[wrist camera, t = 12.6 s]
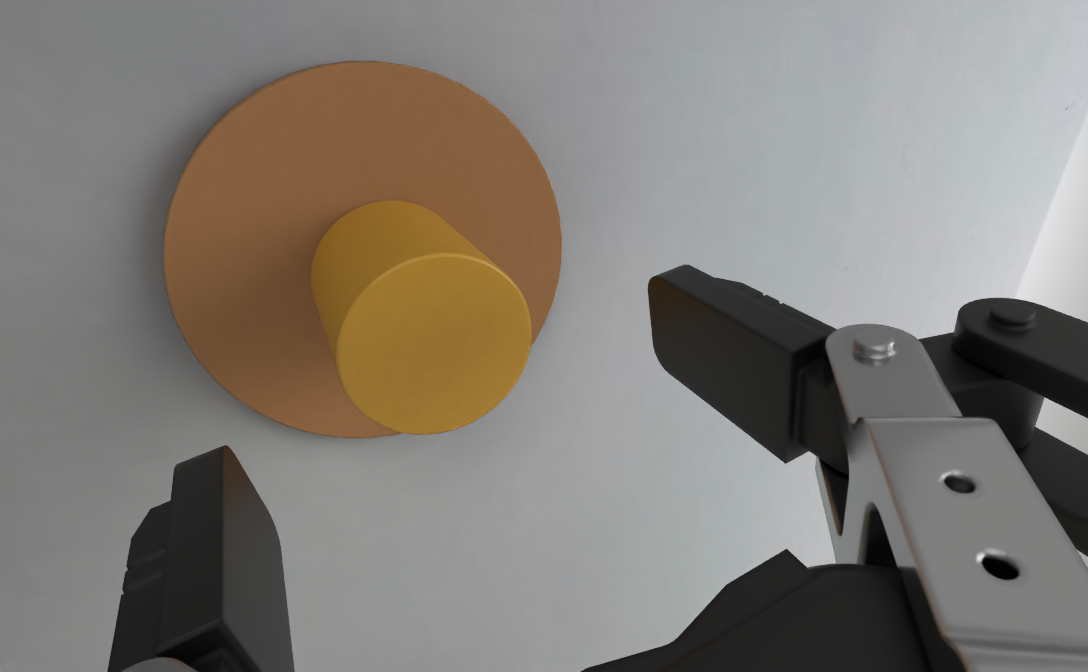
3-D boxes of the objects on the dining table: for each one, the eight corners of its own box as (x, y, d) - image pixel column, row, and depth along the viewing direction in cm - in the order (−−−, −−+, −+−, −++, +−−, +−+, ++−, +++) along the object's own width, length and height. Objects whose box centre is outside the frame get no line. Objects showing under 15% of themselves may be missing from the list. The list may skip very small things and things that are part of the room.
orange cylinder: (276, 299, 16) (291, 387, 12) (372, 166, 16) (421, 211, 12) (408, 369, 19) (457, 461, 15) (493, 255, 18) (568, 318, 14)
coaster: (73, 325, 15) (67, 338, 15) (327, -45, 14) (331, -48, 14) (421, 470, 22) (427, 483, 21) (611, 220, 21) (623, 226, 20)
